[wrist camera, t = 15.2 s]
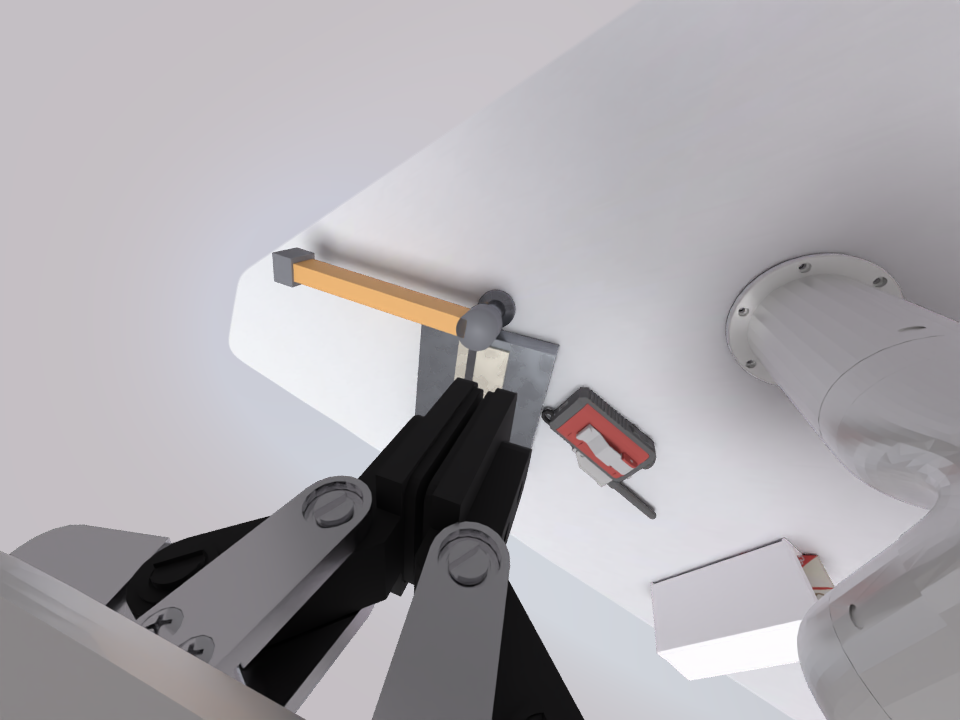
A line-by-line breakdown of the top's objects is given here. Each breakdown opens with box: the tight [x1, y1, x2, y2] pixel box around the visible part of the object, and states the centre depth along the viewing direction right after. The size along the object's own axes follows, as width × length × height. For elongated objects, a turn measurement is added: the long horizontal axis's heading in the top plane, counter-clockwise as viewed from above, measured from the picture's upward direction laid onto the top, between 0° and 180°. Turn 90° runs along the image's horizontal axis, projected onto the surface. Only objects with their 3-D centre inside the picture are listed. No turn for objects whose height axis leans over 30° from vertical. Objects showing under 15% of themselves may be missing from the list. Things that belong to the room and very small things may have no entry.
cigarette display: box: [651, 538, 834, 681], centre depth 45 cm, size 20×6×9 cm, turn 140°
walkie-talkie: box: [542, 388, 656, 519], centre depth 45 cm, size 9×4×20 cm
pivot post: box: [478, 290, 515, 327], centre depth 42 cm, size 4×4×4 cm
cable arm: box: [272, 248, 502, 351], centre depth 40 cm, size 26×4×4 cm, turn 78°
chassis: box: [415, 324, 559, 449], centre depth 48 cm, size 16×20×4 cm
